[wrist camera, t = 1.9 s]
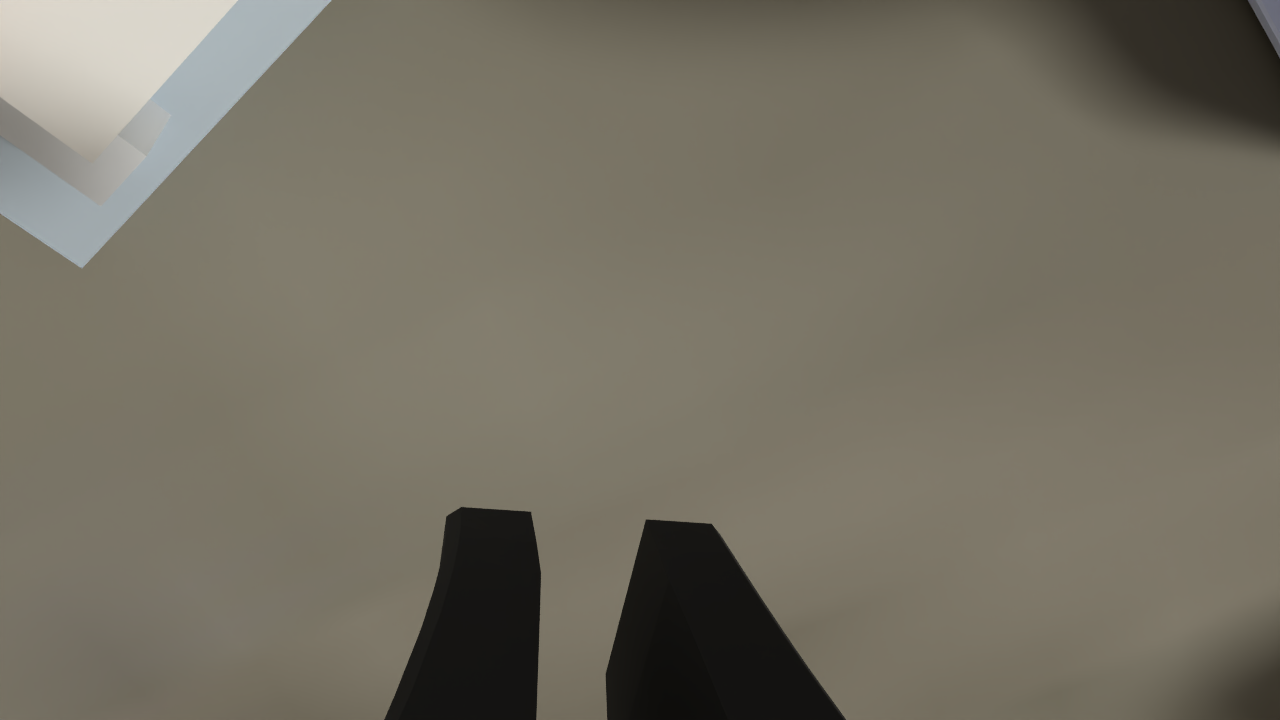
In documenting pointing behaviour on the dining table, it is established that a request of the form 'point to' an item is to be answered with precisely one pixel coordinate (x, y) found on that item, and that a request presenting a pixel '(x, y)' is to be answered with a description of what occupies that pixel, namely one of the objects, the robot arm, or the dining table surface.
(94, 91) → the gauge sled
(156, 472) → the dining table surface
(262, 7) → the gauge bench
